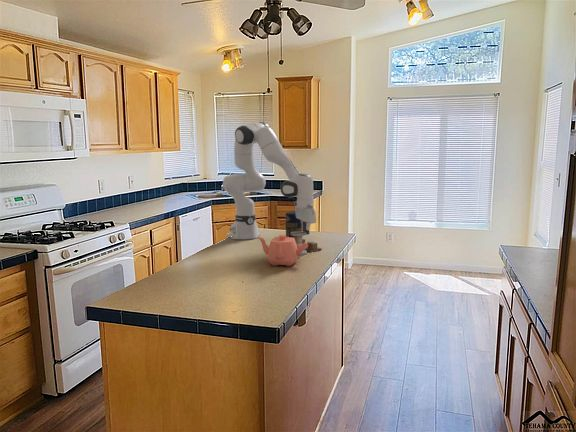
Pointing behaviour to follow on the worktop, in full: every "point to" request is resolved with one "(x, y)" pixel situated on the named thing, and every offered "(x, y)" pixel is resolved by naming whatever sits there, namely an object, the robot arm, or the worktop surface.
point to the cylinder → (305, 228)
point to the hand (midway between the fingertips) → (305, 229)
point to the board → (311, 246)
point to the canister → (292, 224)
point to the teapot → (282, 250)
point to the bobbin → (299, 239)
